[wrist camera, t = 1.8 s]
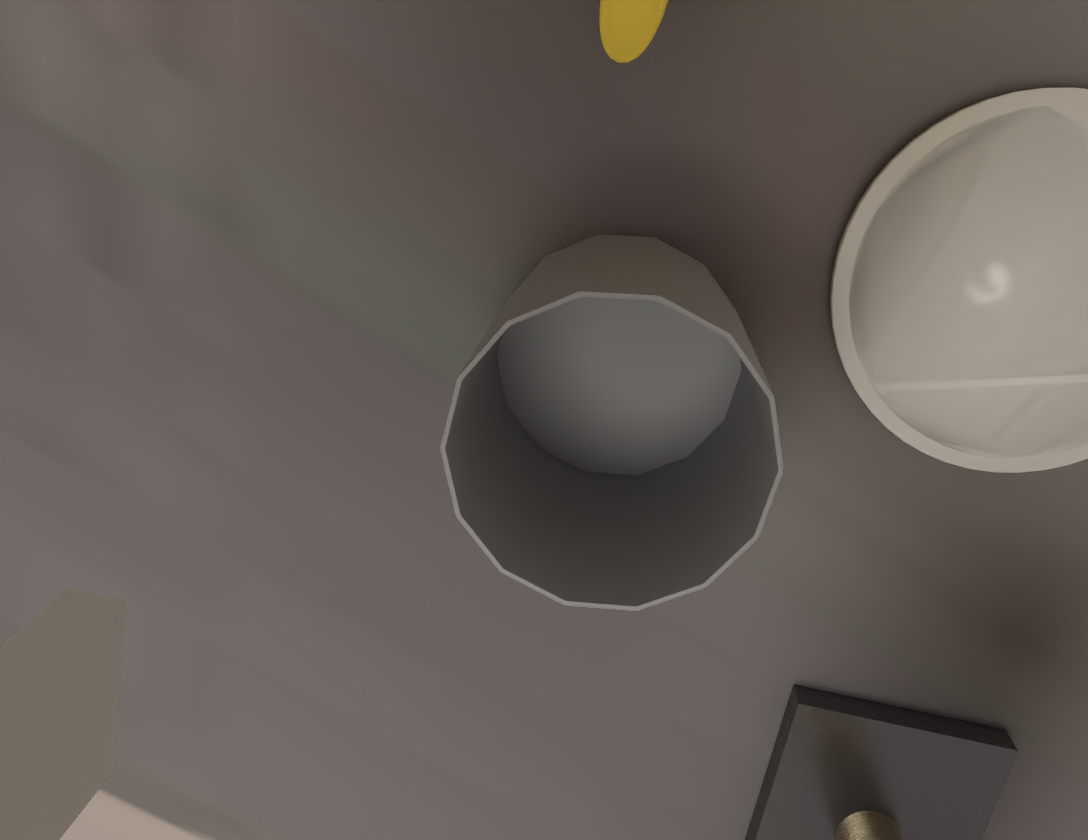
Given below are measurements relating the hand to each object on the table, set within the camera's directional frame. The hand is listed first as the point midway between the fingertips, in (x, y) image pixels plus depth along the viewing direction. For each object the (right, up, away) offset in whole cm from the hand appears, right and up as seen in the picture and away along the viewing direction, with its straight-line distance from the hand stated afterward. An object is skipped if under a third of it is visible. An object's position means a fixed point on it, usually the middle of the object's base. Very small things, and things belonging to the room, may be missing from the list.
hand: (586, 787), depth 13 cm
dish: (+15, +9, +19) cm, 25 cm away
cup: (+2, +7, +21) cm, 22 cm away
